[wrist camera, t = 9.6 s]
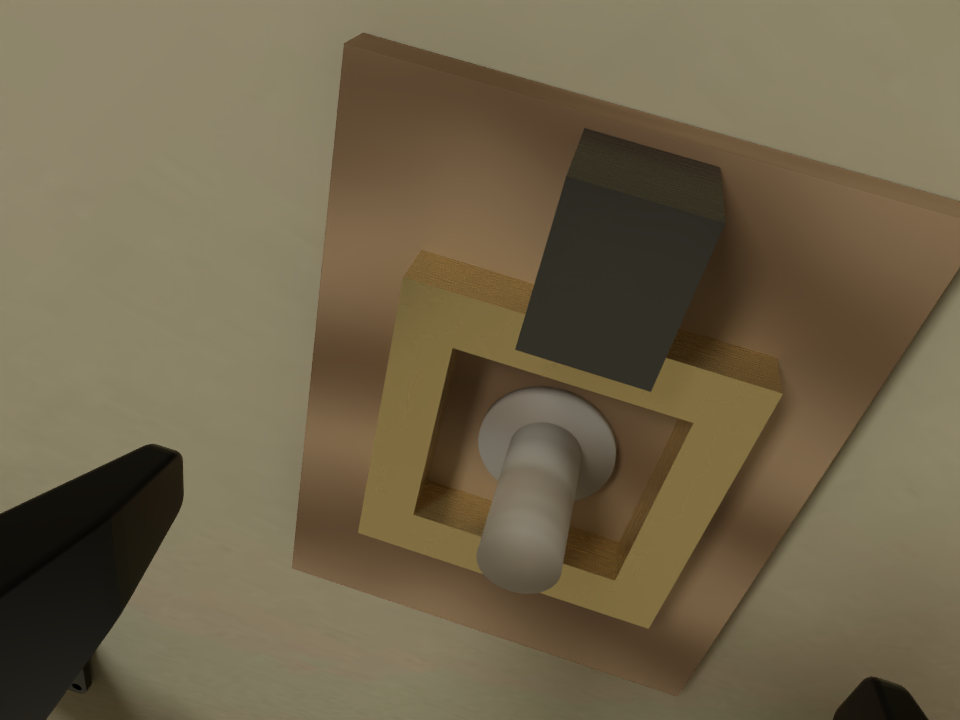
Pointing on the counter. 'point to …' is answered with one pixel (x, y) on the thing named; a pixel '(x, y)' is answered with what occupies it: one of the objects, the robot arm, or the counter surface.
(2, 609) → the robot arm
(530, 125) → the plate
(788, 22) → the counter surface
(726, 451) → the brass link
